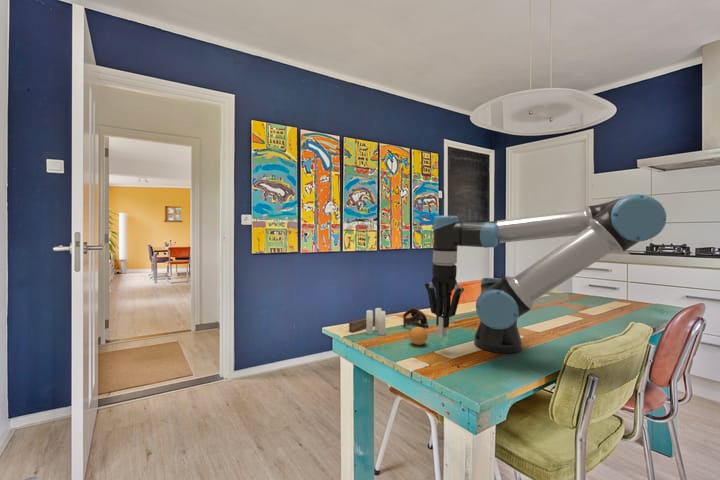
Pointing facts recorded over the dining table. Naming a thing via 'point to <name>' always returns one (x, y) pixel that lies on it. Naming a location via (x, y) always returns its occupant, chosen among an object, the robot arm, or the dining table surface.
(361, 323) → the back wall
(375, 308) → the pin
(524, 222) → the robot arm
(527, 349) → the dining table surface
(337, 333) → the dining table surface
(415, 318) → the pottery mug
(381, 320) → the front pin
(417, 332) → the ball
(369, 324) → the pin
